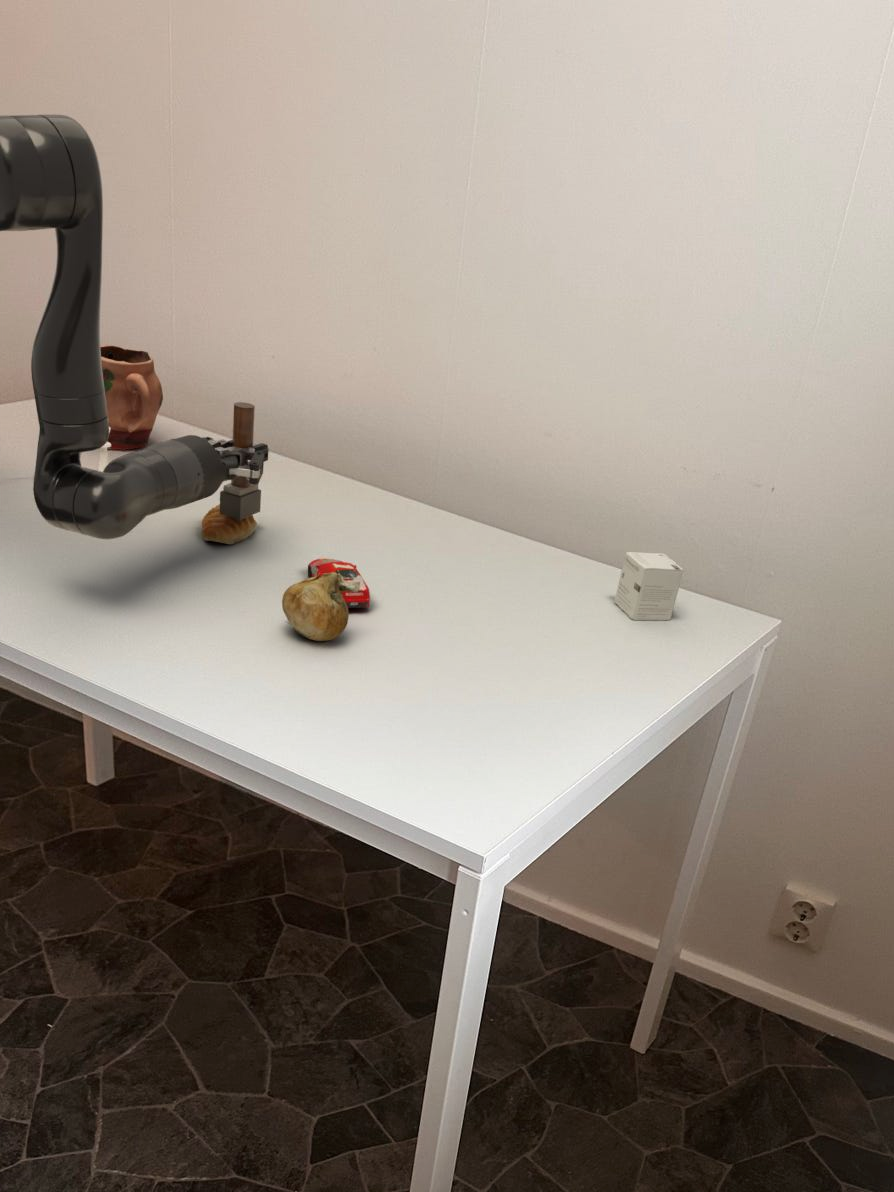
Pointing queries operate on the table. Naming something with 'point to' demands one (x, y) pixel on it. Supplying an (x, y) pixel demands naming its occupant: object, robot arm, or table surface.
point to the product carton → (648, 586)
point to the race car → (347, 574)
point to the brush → (241, 494)
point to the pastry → (226, 527)
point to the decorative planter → (130, 395)
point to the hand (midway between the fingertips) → (254, 448)
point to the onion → (318, 606)
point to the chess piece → (104, 456)
